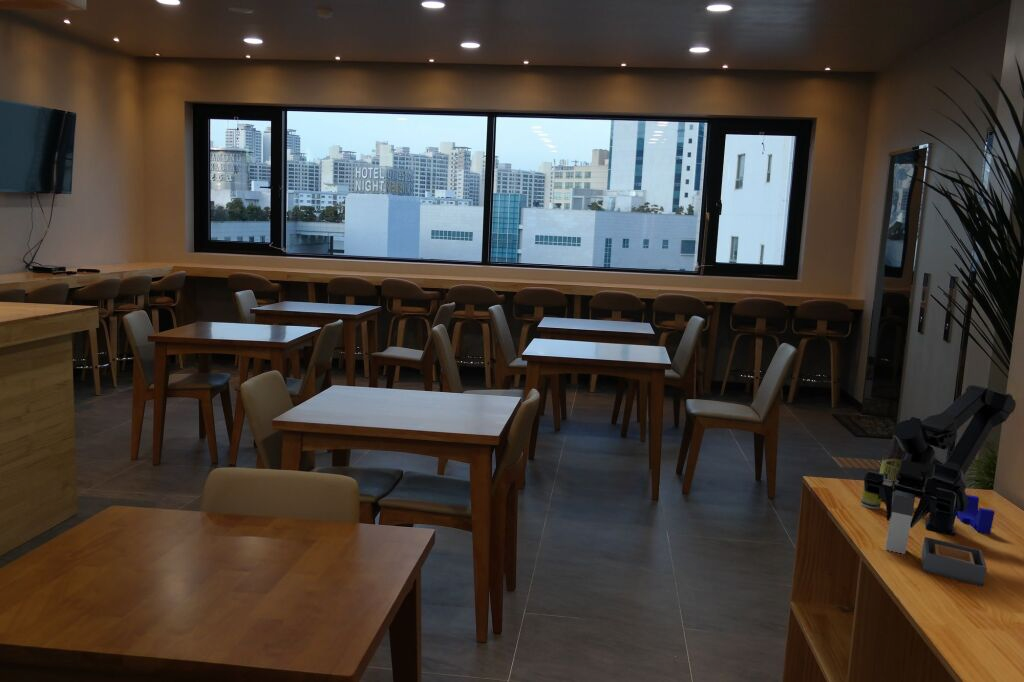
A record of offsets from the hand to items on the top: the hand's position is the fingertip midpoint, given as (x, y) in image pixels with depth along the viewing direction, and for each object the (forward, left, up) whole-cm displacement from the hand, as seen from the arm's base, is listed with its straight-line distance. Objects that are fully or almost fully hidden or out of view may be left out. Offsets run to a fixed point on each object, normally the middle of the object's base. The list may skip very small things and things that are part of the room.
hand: (899, 523), depth 181 cm
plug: (-1, 0, -7) cm, 7 cm away
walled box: (+3, +11, -7) cm, 13 cm away
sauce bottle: (-41, -2, -7) cm, 42 cm away
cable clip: (-36, +18, -7) cm, 41 cm away
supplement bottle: (-31, -6, -7) cm, 33 cm away
